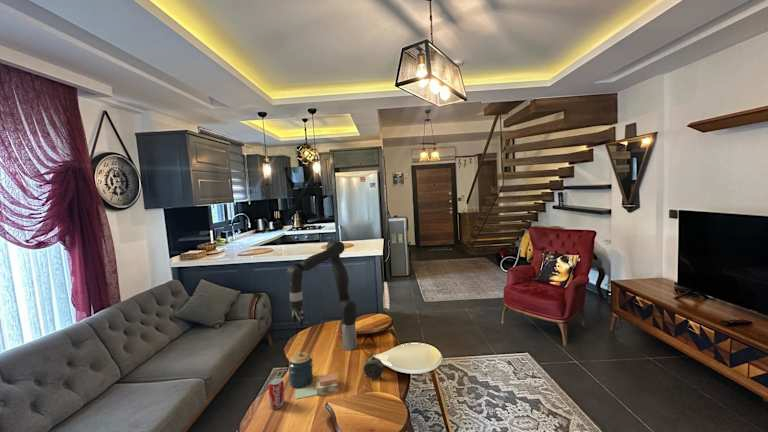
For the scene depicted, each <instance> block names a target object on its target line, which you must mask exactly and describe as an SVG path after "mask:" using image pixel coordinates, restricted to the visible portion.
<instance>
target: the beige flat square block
mask: <svg viewBox="0 0 768 432" xmlns="http://www.w3.org/2000/svg"><path fill="white" fill-rule="evenodd" d="M314 379H315V381H314V382H315V386H316V391H317V395H316V396H318V397H319V396H324V395H329V394H333V393H338V392H339V384H338V382H337V383H332V384H327V385H322V386H320V381H319V377H316V378H314Z"/></svg>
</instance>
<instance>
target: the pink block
mask: <svg viewBox="0 0 768 432" xmlns="http://www.w3.org/2000/svg"><path fill="white" fill-rule="evenodd" d="M318 378H319V381H320V386H322V385H327V384H332V383H337V384H338V378H337V373H336V372H333V373H329V374H323V375H319V376H318Z"/></svg>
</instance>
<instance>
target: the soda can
mask: <svg viewBox="0 0 768 432" xmlns="http://www.w3.org/2000/svg"><path fill="white" fill-rule="evenodd" d="M284 389H285V387H284V380H283V378H282V377H281V376H275V377H273V378H271V379H270V380H269V383H268V401H269V407H270V408H271V409H274V410H278V409H280V408H282V407H283V405H284V404H285V390H284Z"/></svg>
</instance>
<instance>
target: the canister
mask: <svg viewBox="0 0 768 432" xmlns="http://www.w3.org/2000/svg"><path fill="white" fill-rule="evenodd" d="M312 362H313V358H312V356H311V354H310V353H308V352H305V351H302V350H301V351H298V352H296V353H294V354H293V355H292V356H291V357H290V358H289V361H288V366H289V368H288V372H289V374H288V375H289V384H290V385H289V386H291V387H292V388H294V389H295V388H296V389H302V388H307V387H309V385H311V383H312V382H313V380H314V375H313V363H312Z"/></svg>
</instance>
